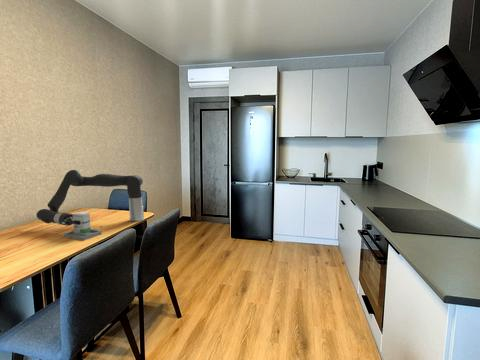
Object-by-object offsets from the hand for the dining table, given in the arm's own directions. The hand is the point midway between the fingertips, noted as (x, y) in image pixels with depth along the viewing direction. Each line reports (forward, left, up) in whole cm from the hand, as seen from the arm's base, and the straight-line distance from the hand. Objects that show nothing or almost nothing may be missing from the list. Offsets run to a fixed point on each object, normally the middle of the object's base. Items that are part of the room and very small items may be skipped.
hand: (83, 221), depth 164 cm
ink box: (0, -2, -7) cm, 7 cm away
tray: (0, -2, -9) cm, 9 cm away
